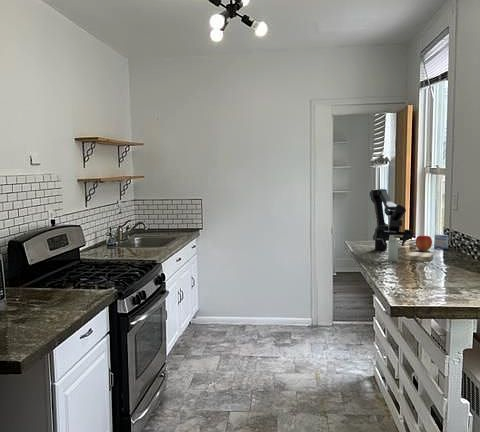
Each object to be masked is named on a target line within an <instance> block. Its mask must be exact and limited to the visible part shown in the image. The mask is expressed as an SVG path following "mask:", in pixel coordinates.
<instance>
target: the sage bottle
mask: <svg viewBox="0 0 480 432" xmlns="http://www.w3.org/2000/svg"><path fill="white" fill-rule="evenodd" d="M387 251H388V252H387V254H388V255H387V256H388V257H387V260H388V261H389V262H398V256H399V241H398V240H397V237H396V236H394V237H393V236H391V237H390V240H389V241H388V246H387Z"/></svg>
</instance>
